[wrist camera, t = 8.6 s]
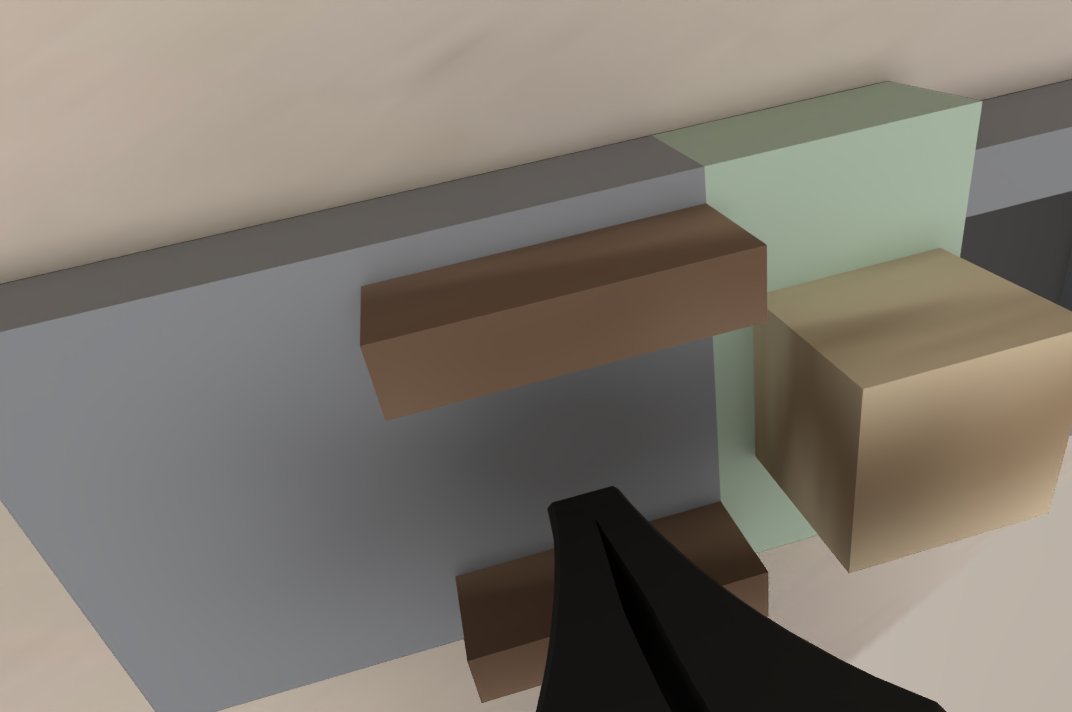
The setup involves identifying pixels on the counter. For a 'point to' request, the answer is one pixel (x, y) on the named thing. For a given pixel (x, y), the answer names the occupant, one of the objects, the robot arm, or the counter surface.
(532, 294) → the brown rectangular blocks
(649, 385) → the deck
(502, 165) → the counter surface
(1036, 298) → the maple block
